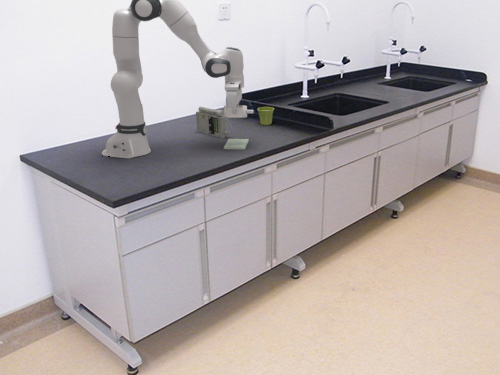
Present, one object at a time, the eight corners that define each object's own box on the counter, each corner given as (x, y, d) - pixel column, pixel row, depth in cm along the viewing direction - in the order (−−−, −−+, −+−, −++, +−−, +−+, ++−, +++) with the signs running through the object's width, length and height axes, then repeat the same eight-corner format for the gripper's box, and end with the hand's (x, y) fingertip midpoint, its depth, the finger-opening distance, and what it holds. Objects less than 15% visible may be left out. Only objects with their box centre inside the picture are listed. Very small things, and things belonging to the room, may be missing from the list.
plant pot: (259, 126, 272) (259, 111, 269) (255, 122, 280) (255, 107, 277) (276, 125, 274) (276, 110, 271) (271, 121, 282) (271, 106, 279)
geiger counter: (193, 106, 260) (226, 113, 244) (202, 104, 264) (235, 110, 248) (195, 132, 265) (228, 140, 249) (204, 129, 269) (236, 137, 254)
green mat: (223, 149, 236) (223, 147, 236) (229, 140, 249) (229, 138, 249) (244, 149, 235) (244, 147, 234) (248, 141, 248) (248, 139, 247)
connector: (223, 117, 235) (223, 107, 233) (225, 115, 239) (224, 105, 237) (252, 117, 233) (252, 107, 232) (253, 115, 237) (253, 105, 235)
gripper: (231, 79, 240) (232, 107, 246) (223, 87, 222) (225, 117, 227) (244, 79, 240) (245, 107, 245) (237, 87, 221) (238, 118, 226)
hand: (235, 112), depth 236 cm, fingers closed on connector, 4 cm apart
